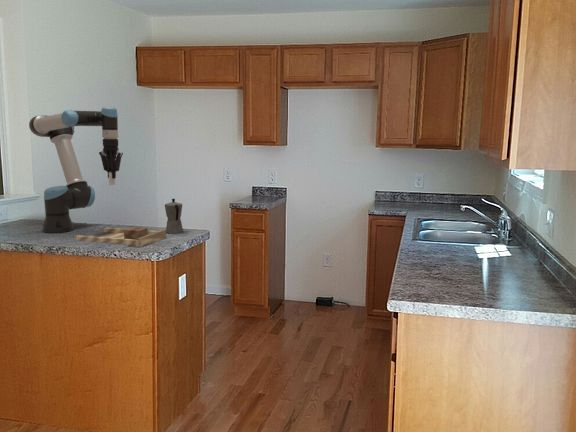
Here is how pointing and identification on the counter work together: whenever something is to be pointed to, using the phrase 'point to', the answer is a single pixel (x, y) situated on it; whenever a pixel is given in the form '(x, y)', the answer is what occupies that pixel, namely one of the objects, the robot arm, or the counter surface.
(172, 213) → the coffeepot
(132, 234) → the walnut block
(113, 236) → the wooden cutlery tray
